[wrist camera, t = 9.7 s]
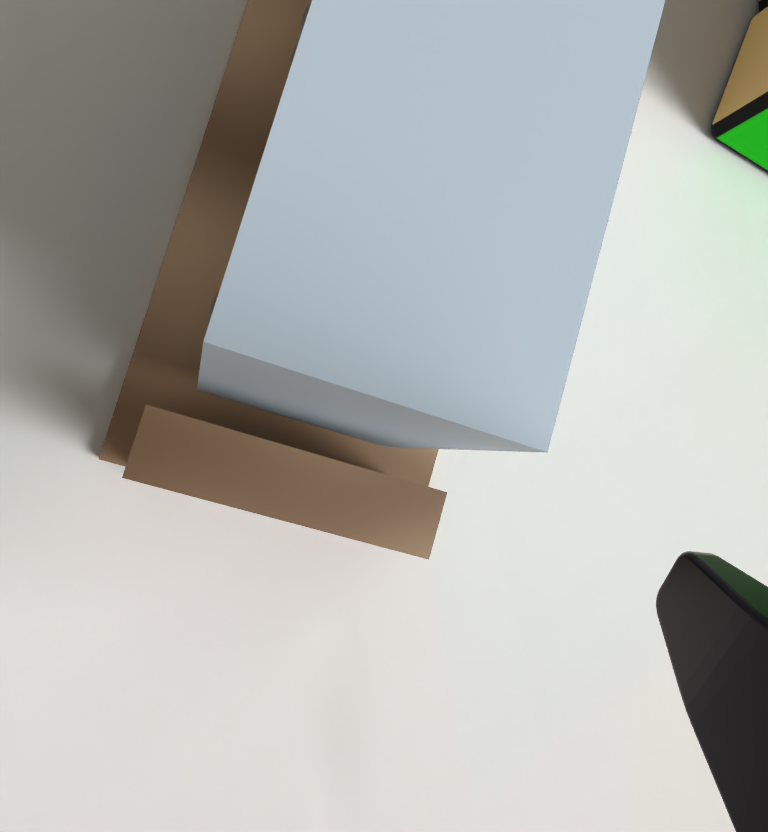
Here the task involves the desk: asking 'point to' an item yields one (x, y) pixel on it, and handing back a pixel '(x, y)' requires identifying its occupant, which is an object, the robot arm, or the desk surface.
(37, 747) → the desk surface
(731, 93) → the puzzle cube
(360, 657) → the desk surface
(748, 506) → the desk surface
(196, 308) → the peg rest
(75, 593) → the desk surface
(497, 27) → the pale blue block
